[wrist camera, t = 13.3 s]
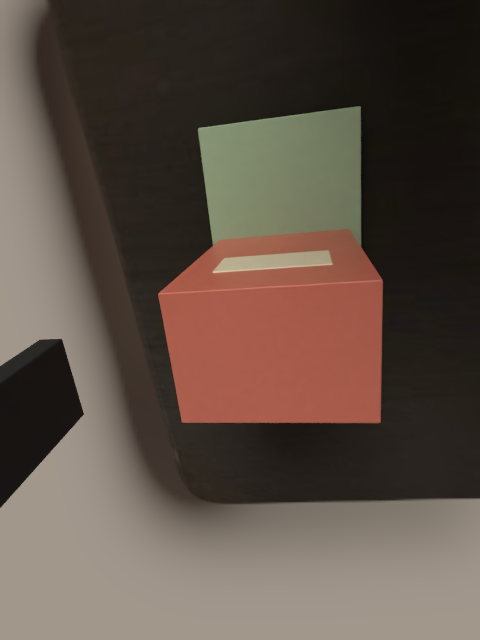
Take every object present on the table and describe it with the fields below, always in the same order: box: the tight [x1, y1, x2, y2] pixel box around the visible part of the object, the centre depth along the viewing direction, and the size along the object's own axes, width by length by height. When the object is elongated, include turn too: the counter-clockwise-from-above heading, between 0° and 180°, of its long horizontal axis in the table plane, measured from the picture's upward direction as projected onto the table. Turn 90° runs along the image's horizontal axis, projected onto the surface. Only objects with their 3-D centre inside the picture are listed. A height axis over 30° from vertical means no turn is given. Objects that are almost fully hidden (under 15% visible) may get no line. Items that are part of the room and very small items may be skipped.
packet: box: [158, 229, 383, 423], centre depth 18 cm, size 5×7×10 cm
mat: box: [198, 106, 361, 246], centre depth 23 cm, size 16×8×1 cm, turn 6°
